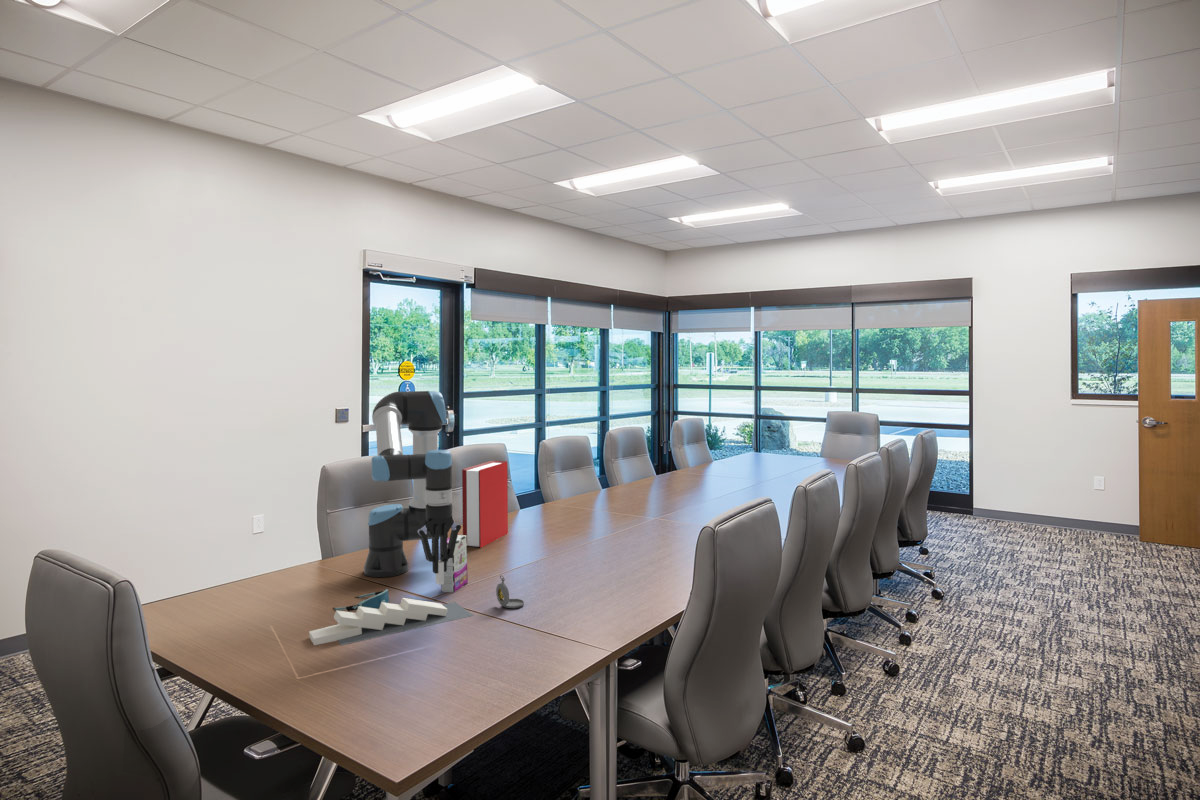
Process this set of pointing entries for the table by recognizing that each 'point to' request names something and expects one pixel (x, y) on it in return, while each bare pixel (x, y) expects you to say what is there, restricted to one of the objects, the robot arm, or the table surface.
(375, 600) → the sunglasses
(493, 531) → the book
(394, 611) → the domino
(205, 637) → the table surface
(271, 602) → the table surface
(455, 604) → the mat
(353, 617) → the domino
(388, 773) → the table surface
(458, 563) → the candy bar box
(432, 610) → the domino
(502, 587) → the pocket watch
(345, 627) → the domino
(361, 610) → the domino
